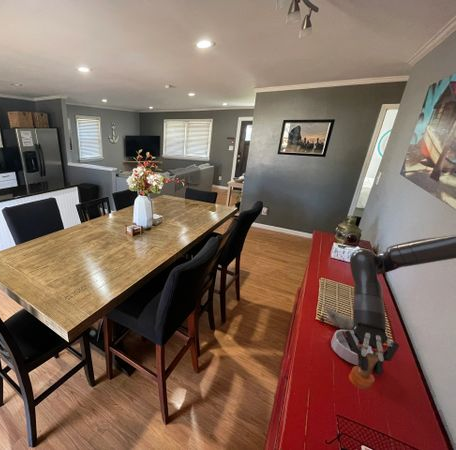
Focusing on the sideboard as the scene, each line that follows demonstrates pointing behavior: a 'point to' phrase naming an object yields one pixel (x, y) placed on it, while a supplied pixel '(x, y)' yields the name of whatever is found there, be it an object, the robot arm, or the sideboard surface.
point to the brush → (364, 373)
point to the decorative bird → (339, 319)
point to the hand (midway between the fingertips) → (370, 372)
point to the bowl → (345, 347)
